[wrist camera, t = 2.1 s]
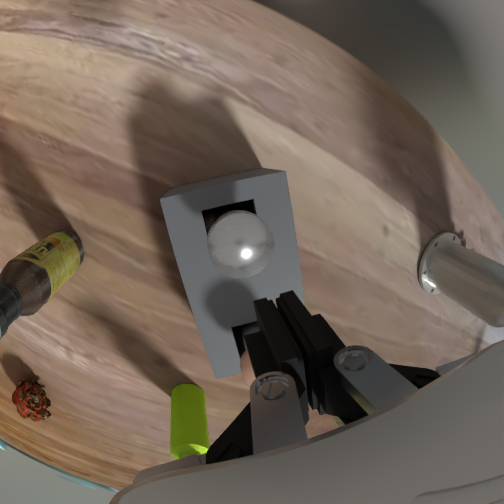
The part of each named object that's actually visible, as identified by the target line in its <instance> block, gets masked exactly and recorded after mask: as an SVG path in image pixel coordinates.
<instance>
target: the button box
mask: <svg viewBox="0 0 504 504" xmlns="http://www.w3.org/2000/svg"><path fill="white" fill-rule="evenodd" d="M251 199H252V201H253V206H254V211H255V214H256V215H257V216H259V217H260V218H261V219H262V220H263V221H264V222H265V223H266V224H267V225H268V226H269V228H270V229H271V231H272V233H273V236H274V242H275V247H274V253H273V256H272V258H271V260H270V262H269V263H268V265H267V266H266V267H265V268H264V269H263V270H262V271H261V272H259V273H257V274H256V275H254V276H251V277H247V278H232V277H229V276H226V275H224V274H222V273H221V272H219V271H218V270H217V269H216V268H215V267H214V265H213V264H212V262H211V260H210V258H209V254H208V248H207V237H208V236H207V231H206V227H205V223H204V219H203V215H202V210H207V209H211V208H215V207H219V206H224V205H228V204H232V203H237V202H241V201H246V200H251ZM160 202H161V206H162V210H163V214H164V218H165V222H166V225H167V229H168V233H169V236H170V240H171V244H172V247H173V251H174V254H175V258H176V261H177V265H178V268H179V271H180V275H181V278H182V281H183V284H184V288H185V291H186V294H187V297H188V300H189V303H190V306H191V309H192V312H193V315H194V318H195V321H196V324H197V327H198V330H199V333H200V336H201V339H202V341H203V344H204V347H205V350H206V352H207V355H208V358H209V361H210V363H211V366H212V369H213V371H214V374H215V376H216V379H217V378H221V377H226V376H230V375H234V374H239V373H242V372H241V368H240V359H241V357H242V355H243V353H244V352H245V351H246V349H245V346H244V342H243V338H242V335H241V327H242V326H243V324H247V323H251V322H255V321H257V318H256V313H255V308H254V304H253V301H254V300H258V299H262V298H265V297H266V298H267V300H271V299H272V300H273V302H274V304H275V305H276V298H278V297H280V293H284V292H287V291H291V290H293V291H294V292H295V294H296V295H297V296H298V298H299V299H300V301H301V302H302V303H303V305H304V306H305V301H304V293H303V285H302V277H301V269H300V262H299V254H298V247H297V240H296V233H295V226H294V219H293V213H292V207H291V200H290V194H289V188H288V182H287V176H286V171H281V170H274V169H267V168H259V169H254V170H249V171H244V172H239V173H234V174H230V175H225V176H220V177H216V178H211V179H207V180H203V181H199V182H194V183H190V184H186V185H182V186H178V187H174V188H170V189H169V190H168V191H167V192H166V193H165V194H164V195H163V196H162V197H161V198H160ZM276 307H277V305H276Z"/></svg>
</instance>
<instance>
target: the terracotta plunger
mask: <svg viewBox="0 0 504 504" xmlns="http://www.w3.org/2000/svg"><path fill="white" fill-rule="evenodd" d="M258 331H259V327H258V322H257V321H255V322H251V323H247V324H243V326H242V327H241V335H242V338H243V342H244V346H245V349H246V351H245V352H244V353H243V355H242V357H241V359H240V368H241V372H242V376H243V379H244V380H245V382H246V383H247V384H249V385H250V386H251V384H252V382H253V381H254V380H255V379H256V378H255V375H254V371H253V368H252V365H251V361H250V358H249V354H248V350H247V347H246V343H245V339H244V335H247V334H250V333H254V332H258Z"/></svg>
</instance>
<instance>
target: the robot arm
mask: <svg viewBox="0 0 504 504" xmlns="http://www.w3.org/2000/svg"><path fill="white" fill-rule="evenodd" d="M419 282H420V285H421V287H422V289H423V290H424V291H426V292H427V293H429V294H432V295H435V294H439V293H441V292H442V293H443V294H445V295H446V296H448V297H449V298H451V299H452V300H454V301H455V302H457V303H458V304H460V305H461V306H463V307H464V308H466V309H467V310H469V311H470V312H472V313H473V314H475V315H476V316H477V317H479V318H480V319H482V320H483V321H485V322H486V323H488V324H489V325H491V326H493V327H504V265H502V264H500V263H498V262H496V261H494V260H492V259H489V258H487V257H485V256H483V255H481V254H479V253H477V252H476V251H475V249H474V248H472V249H468V248H466V247H463V246H462V244H461V241H460V239H459V238H458V236H457V235H455V234H453V233H451V232H442V233H440V234H438V235H437V236H435V237H434V238H433V239H432V240H431V242H430V243H429V244H428V246H427V247H426V249H425V251H424V253H423V256H422V259H421V262H420V266H419ZM253 304H254V308H255V313H256V318H257V322H258V327H259V331H258V332H254V333H250V334H247V335H244V339H245V343H246V347H247V350H248V354H249V358H250V361H251V365H252V368H253V371H254V375H255V378H256V379H255V380H254V381H253V382H252V384H251V386H250V402H249V404H248V405H247V406H246V407H245V408H244V409H243V411H242V412H241V413H240V414H239V415H238V416H237V418H236V419H235V420H234V421H233V422H232V423H231V424H230V425H229V427H228V428H227V429H226V430H225V431H224V432H223V433H222V434H221V435H220V437H219V438H218V439H217V440H216V441H215V442H214V443H213V444H212V445H211V446H210V448H209V449H208V451H207V453H204V454H201V455H199V456H198V455H197V454H193V455H190V456H187V457H184V458H181V459H178V460H175V461H171V462H168V463H165V464H161V465H158V466H154V467H150V468H147V469H144V470H142V471H140V472H139V473H138V474H137V475H136V476H135V478H134V480H133V484H131V485H129V486H127V487H125V488H124V489H122V490H120V491H119V492H118V493H117V494H116V495H115V496H114V497H113V498H112V500H111V501H110V503H109V504H504V340H502V341H499V342H497V343H495V344H492V345H490V346H488V347H487V348H485V349H483V350H481V351H479V352H478V353H475V354H471V355H468V356H466V357H463V358H461V359H458V360H456V361H453V362H450V363H447V364H445V365H442V366H439V367H436V370H435V371H433V370H431V369H427V368H418V367H410V366H402V365H395V364H388V363H386V362H385V361H384V360H383V359H382V358H380V357H379V356H378V355H377V354H376V353H374V352H373V351H372V350H370V349H369V348H367V347H364V346H358V345H353V346H348V347H346V346H345V345H344V344H343V342H342V341H341V340H340V338H339V337H338V336H337V335H336V333H335V332H334V331H333V329H332V328H331V327H330V326H329V324H328V323H327V322H326V320H325V319H324V318H323V317H322V316H321V315H320V314H316V315H313V316H311V314H310V313H309V312H308V310H307V309H306V307H305V306H304V305H303V303H302V302H301V301H300V299H299V298H298V296H297V295H296V294H295V292H294V291H293V290H291V291H287V292H284V293H280V297H278V298H276V305H277V307H276V305H275V304H274V302H273V300H272V299H271V300H267V298H266V297H265V298H262V299H258V300H254V301H253ZM308 402H309V404H310V406H311V408H312V410H314V409H317V410H318V412H319V414H320V415H323V414H325V413H326V414H329V415H333V416H334V420H335V421H336V423H337V424H338V425H339V428H337V429H334V430H332V431H329V432H326V433H324V434H321V435H318V436H315V437H312V438H309V439H308V437H307V433H306V428H305V425H306V424H307V422H308V420H309V415H308V411H309V408H308Z"/></svg>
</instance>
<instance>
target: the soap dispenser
mask: <svg viewBox="0 0 504 504" xmlns="http://www.w3.org/2000/svg"><path fill="white" fill-rule="evenodd" d="M209 448H210V444H209V435H208V425H207V415H206V405H205V394H204V391H203V390H202V389H201V388H200V387H199V386H197V385H194V384H180V385H178V386H176V387H175V388H174V389H173V390H172V395H171V435H170V453H171V455H172V456H173V457H174V458H175V459H177V460H178V459H181V458H184V457H187V456H190V455H193V454H197V455H198V456H199V455H201V454H204V453H207V451H208V449H209Z"/></svg>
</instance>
